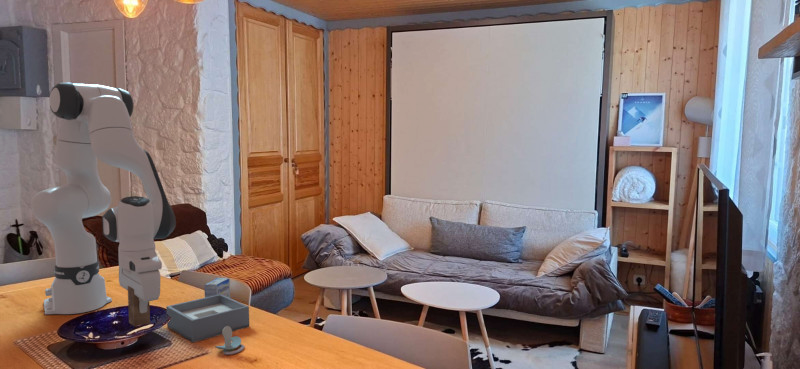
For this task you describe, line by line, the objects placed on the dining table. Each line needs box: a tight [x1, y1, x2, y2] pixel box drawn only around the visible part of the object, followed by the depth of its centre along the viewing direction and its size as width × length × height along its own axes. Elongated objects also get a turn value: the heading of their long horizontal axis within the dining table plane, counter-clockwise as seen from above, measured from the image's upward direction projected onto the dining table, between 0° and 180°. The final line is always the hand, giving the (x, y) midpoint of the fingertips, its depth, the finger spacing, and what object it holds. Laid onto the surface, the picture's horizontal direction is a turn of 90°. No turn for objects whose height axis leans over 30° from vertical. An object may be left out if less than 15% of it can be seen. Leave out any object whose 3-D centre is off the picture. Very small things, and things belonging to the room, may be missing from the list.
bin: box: [166, 294, 250, 343], centre depth 157 cm, size 17×17×6 cm
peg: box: [127, 286, 151, 328], centre depth 147 cm, size 4×4×10 cm
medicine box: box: [203, 277, 231, 298], centre depth 174 cm, size 8×4×9 cm, turn 168°
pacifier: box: [215, 326, 245, 356], centre depth 141 cm, size 7×6×6 cm
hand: (139, 309), depth 147 cm, fingers closed on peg, 4 cm apart
